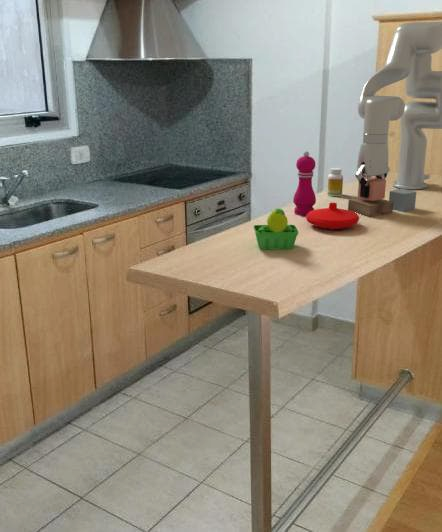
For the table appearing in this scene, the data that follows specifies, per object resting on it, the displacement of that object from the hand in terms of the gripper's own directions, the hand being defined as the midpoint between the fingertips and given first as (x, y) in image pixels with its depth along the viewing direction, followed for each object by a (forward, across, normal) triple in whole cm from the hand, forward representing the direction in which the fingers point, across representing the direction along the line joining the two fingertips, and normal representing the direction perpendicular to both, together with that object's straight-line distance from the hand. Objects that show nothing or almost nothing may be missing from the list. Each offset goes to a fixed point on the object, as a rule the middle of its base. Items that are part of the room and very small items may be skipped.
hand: (371, 195), depth 194 cm
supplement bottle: (+6, -9, -24) cm, 26 cm away
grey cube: (+6, -11, +4) cm, 13 cm away
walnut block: (+6, 0, 0) cm, 6 cm away
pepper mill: (+6, +18, -12) cm, 22 cm away
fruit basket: (+6, +49, +9) cm, 50 cm away
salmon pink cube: (+1, 0, 0) cm, 1 cm away
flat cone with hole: (+6, +22, +4) cm, 23 cm away
